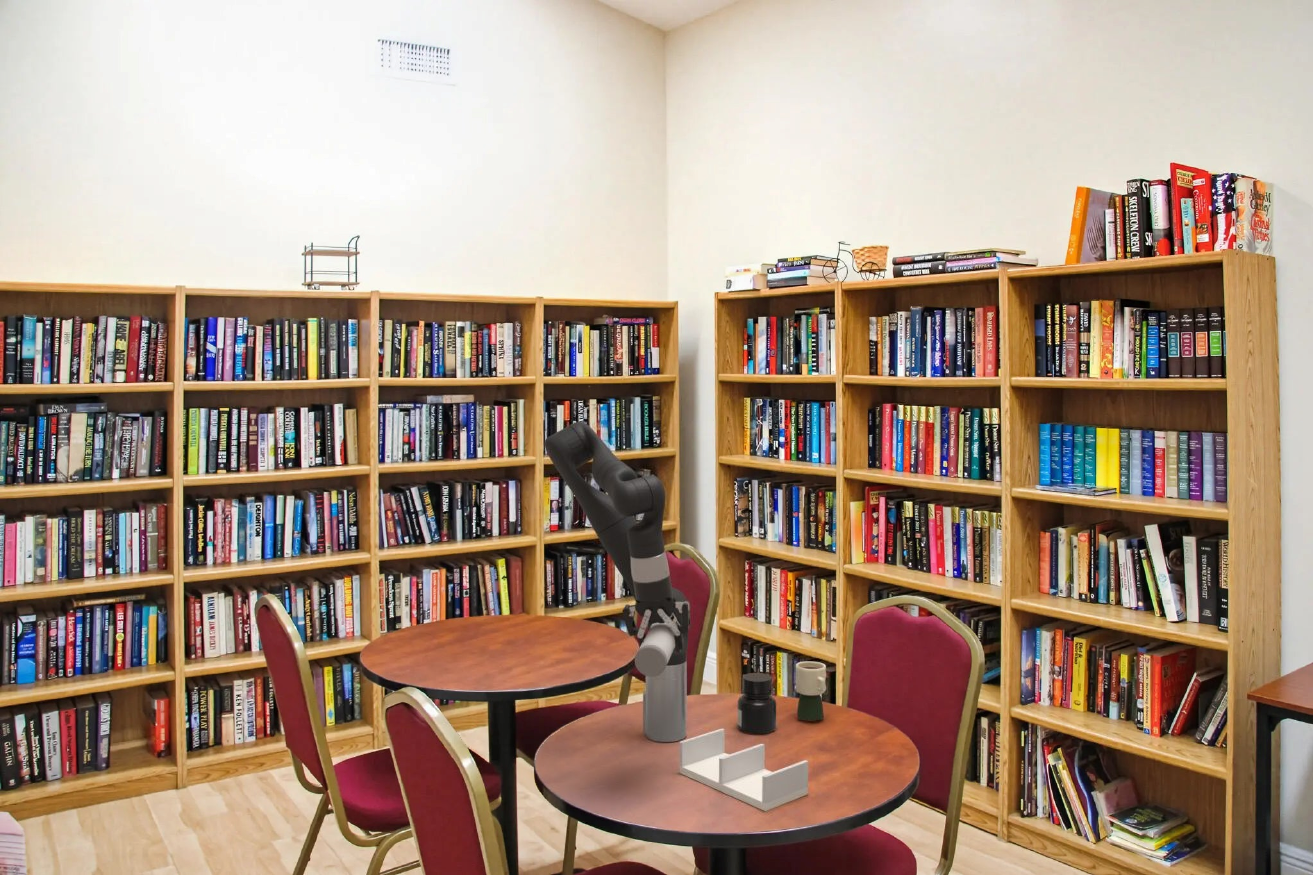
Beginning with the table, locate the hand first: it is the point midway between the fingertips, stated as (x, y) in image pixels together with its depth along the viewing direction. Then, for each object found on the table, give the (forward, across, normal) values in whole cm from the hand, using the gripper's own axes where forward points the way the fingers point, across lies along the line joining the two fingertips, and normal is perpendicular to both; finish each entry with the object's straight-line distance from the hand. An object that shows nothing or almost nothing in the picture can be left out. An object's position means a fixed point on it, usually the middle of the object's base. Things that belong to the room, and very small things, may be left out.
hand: (662, 651), depth 208 cm
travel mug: (-2, 0, +11) cm, 12 cm away
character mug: (+33, -25, -33) cm, 53 cm away
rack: (+26, -14, +7) cm, 30 cm away
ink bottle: (+30, -13, -24) cm, 41 cm away
